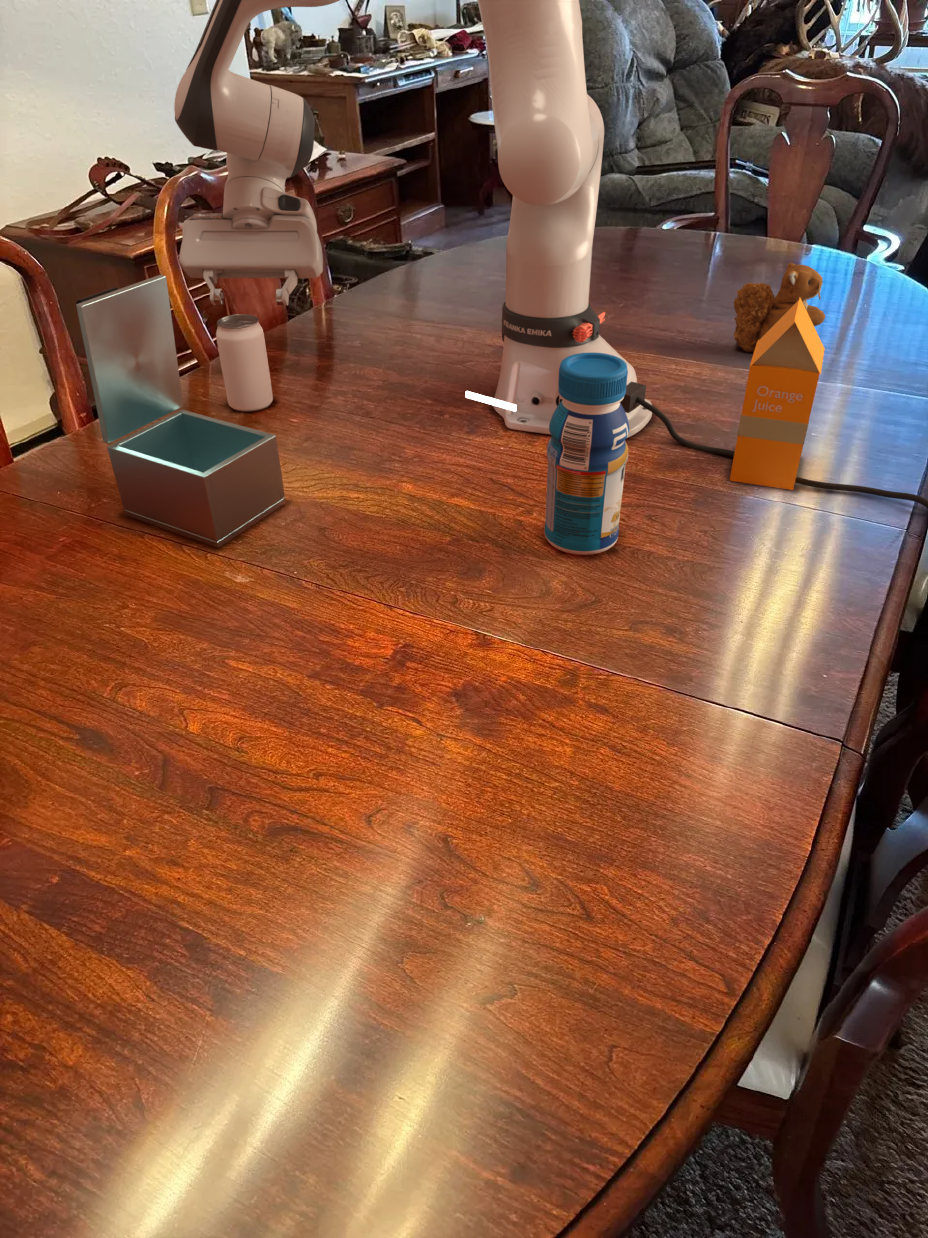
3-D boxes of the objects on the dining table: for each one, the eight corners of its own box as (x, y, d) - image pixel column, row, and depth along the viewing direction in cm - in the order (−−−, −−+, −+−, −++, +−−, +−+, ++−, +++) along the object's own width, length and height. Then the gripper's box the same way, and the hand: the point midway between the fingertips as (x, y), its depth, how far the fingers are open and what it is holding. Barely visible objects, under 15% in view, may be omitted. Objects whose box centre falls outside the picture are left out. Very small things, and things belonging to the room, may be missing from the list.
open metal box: (286, 503, 109) (276, 434, 104) (218, 548, 101) (203, 477, 96) (195, 474, 116) (182, 408, 110) (125, 515, 108) (106, 446, 102)
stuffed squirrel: (814, 365, 142) (834, 278, 134) (721, 355, 146) (734, 269, 138) (818, 344, 149) (836, 259, 141) (729, 334, 153) (742, 252, 145)
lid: (166, 275, 100) (131, 264, 102) (81, 306, 92) (45, 293, 94) (183, 406, 110) (151, 393, 112) (108, 443, 102) (75, 429, 104)
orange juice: (728, 480, 112) (757, 317, 101) (737, 449, 119) (765, 293, 107) (794, 490, 110) (832, 324, 98) (800, 458, 117) (836, 299, 105)
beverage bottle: (529, 527, 104) (535, 355, 92) (595, 512, 107) (609, 342, 95) (565, 565, 98) (576, 385, 86) (633, 547, 100) (654, 371, 89)
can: (263, 414, 130) (250, 329, 123) (220, 410, 131) (205, 327, 124) (280, 396, 135) (268, 314, 128) (238, 393, 136) (225, 311, 129)
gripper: (176, 200, 131) (169, 292, 129) (319, 200, 130) (314, 292, 128) (191, 226, 137) (184, 313, 135) (327, 225, 136) (323, 314, 134)
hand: (249, 303), depth 131 cm, fingers open, 8 cm apart
